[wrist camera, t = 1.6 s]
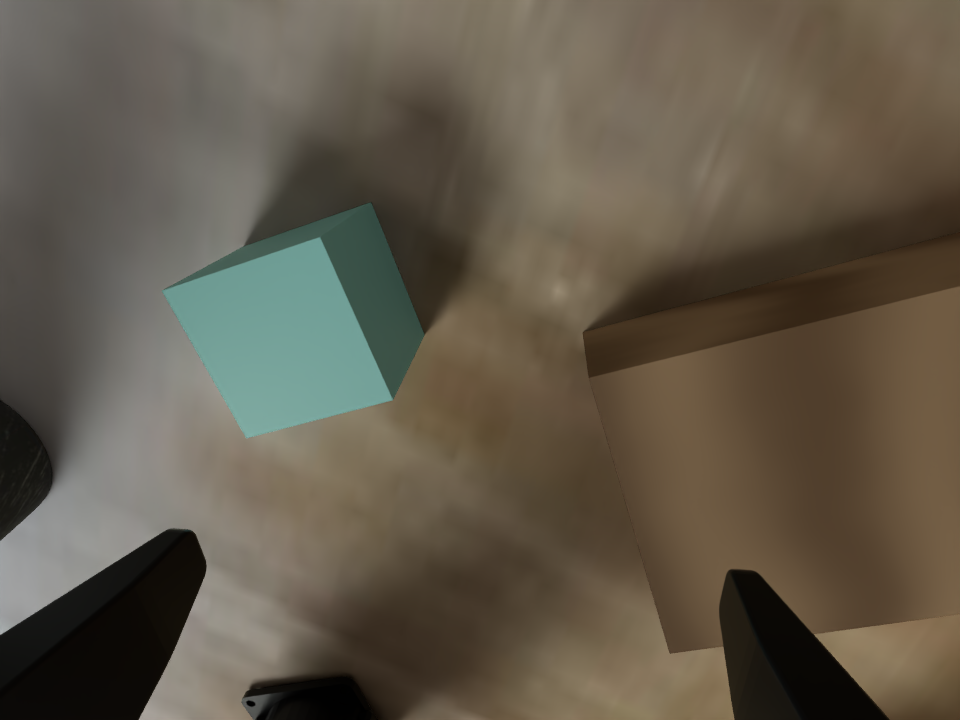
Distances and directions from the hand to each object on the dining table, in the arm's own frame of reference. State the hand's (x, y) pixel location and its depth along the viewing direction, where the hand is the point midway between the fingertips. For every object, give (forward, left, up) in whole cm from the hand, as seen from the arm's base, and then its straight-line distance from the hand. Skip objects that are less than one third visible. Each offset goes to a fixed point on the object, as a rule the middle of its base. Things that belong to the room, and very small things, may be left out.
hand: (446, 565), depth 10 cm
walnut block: (+8, -8, -13) cm, 17 cm away
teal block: (-5, +2, -12) cm, 14 cm away
